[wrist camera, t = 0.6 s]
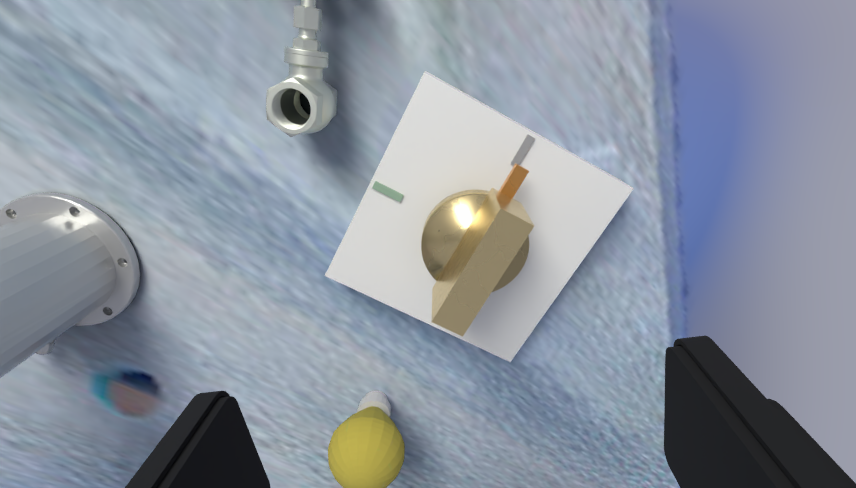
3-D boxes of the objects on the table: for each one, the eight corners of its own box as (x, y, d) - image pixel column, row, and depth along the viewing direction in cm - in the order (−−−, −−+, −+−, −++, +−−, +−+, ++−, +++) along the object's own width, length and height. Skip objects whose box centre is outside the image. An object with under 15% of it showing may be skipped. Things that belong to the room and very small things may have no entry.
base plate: (505, 343, 44) (510, 363, 41) (332, 261, 41) (324, 276, 38) (619, 179, 38) (634, 189, 35) (425, 70, 35) (424, 71, 32)
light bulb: (413, 423, 48) (407, 510, 39) (349, 428, 48) (328, 515, 39) (404, 369, 45) (395, 448, 36) (337, 375, 46) (311, 455, 37)
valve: (355, 133, 37) (368, -37, 33) (339, 147, 31) (352, -60, 27) (274, 121, 37) (275, -51, 33) (241, 133, 31) (238, -77, 27)
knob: (487, 300, 39) (498, 353, 32) (402, 259, 38) (393, 304, 31) (562, 185, 35) (593, 216, 28) (470, 135, 34) (478, 154, 27)
